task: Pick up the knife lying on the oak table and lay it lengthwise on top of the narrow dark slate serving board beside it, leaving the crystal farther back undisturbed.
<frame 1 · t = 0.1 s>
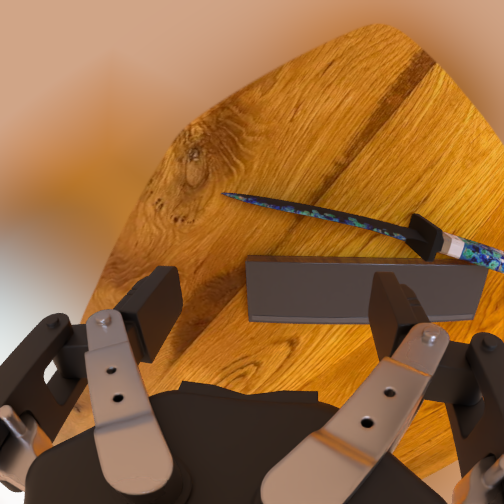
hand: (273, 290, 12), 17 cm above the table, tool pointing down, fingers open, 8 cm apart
slate board: (374, 288, 31), on the table
knife: (383, 218, 28), on the table
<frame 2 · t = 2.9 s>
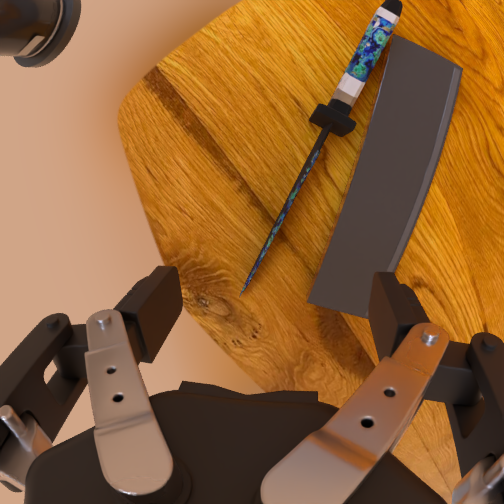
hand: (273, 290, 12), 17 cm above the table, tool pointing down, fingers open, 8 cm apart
slate board: (387, 183, 26), on the table
knife: (308, 155, 26), on the table
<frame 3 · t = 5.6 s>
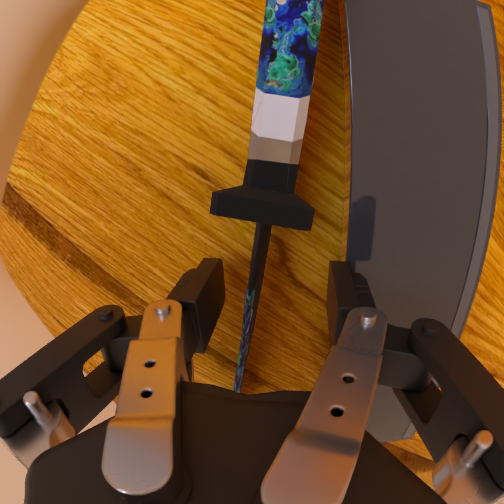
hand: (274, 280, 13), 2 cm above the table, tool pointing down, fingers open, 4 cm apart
slate board: (408, 266, 14), on the table
knife: (256, 261, 15), on the table
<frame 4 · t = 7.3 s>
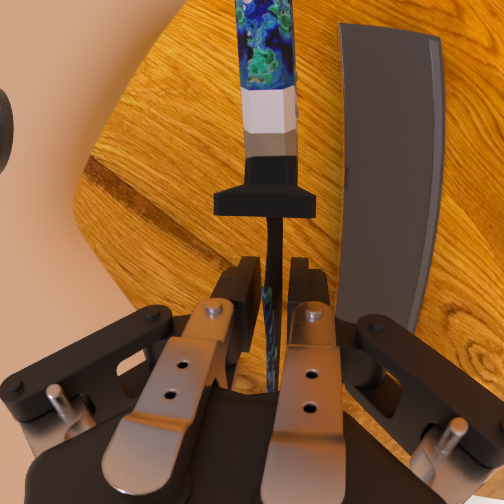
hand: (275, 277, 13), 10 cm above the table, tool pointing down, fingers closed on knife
slate board: (387, 213, 21), on the table
knife: (275, 263, 15), point 8 cm above the table, touching gripper
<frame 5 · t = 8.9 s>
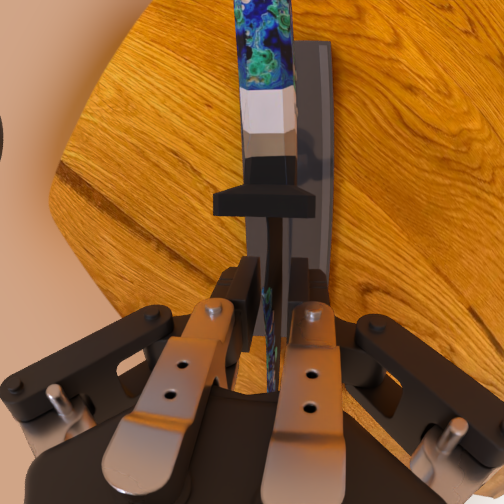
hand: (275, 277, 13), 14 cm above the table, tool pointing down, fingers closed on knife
slate board: (289, 199, 26), on the table
knife: (275, 263, 15), point 12 cm above the table, touching gripper
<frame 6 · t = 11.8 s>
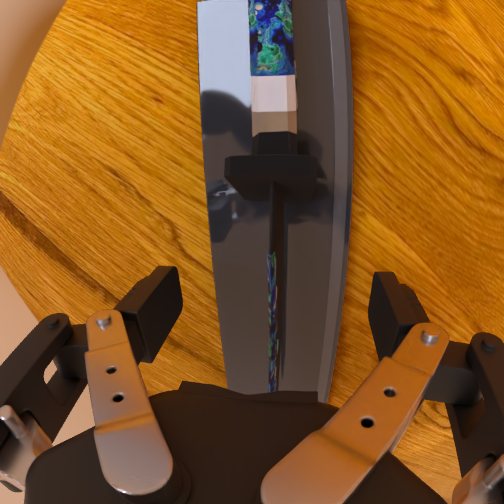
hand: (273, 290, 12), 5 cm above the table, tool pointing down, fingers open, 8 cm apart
slate board: (280, 242, 17), on the table
knife: (275, 258, 15), point 2 cm above the table, touching slate board
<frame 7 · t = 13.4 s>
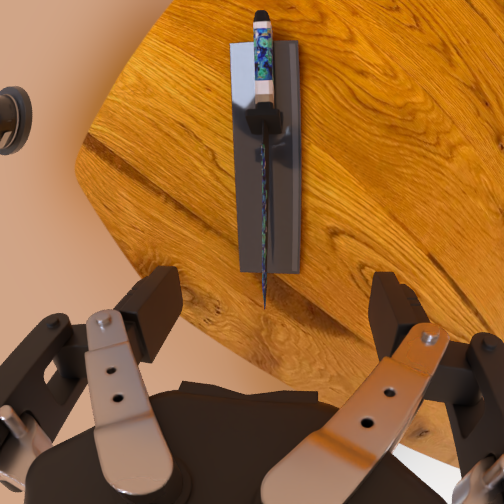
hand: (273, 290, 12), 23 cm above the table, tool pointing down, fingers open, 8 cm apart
slate board: (268, 158, 33), on the table
knife: (265, 160, 31), point 2 cm above the table, touching slate board
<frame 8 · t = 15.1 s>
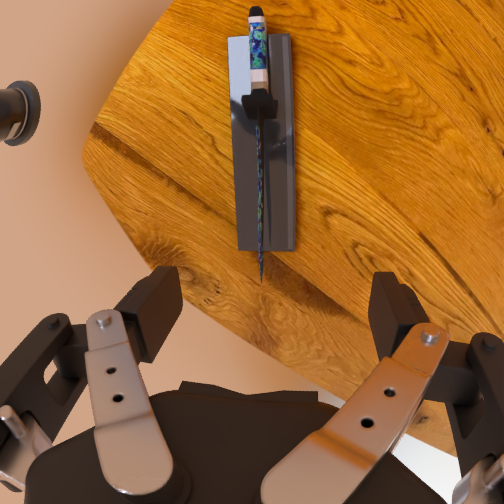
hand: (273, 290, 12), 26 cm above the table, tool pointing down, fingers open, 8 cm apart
slate board: (264, 142, 35), on the table
knife: (261, 143, 33), point 2 cm above the table, touching slate board
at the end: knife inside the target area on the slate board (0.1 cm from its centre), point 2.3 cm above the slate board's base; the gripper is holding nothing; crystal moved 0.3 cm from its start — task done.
